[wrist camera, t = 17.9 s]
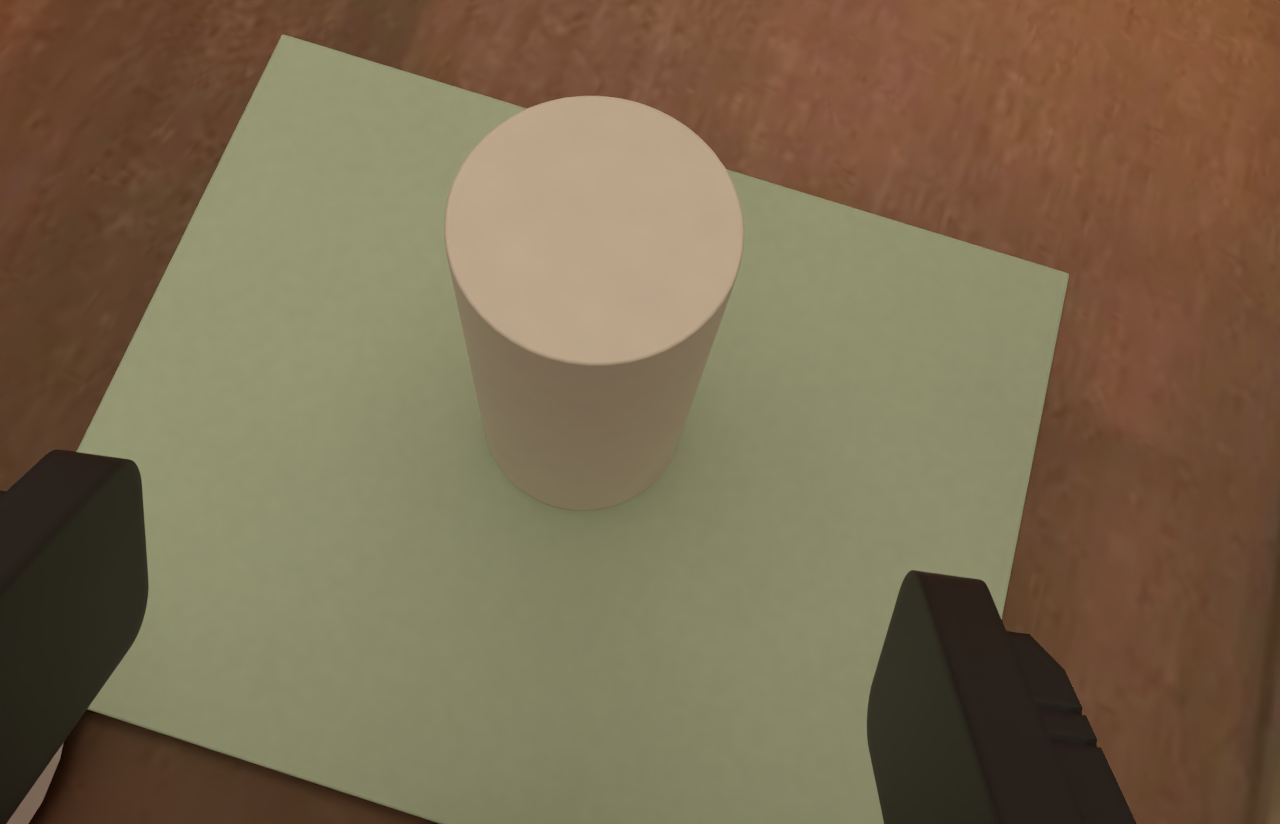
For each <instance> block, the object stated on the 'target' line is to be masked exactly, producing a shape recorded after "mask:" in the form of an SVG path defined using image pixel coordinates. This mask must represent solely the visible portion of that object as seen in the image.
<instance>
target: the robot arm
mask: <svg viewBox="0 0 1280 824" xmlns="http://www.w3.org/2000/svg"><path fill="white" fill-rule="evenodd" d="M148 589H149V585H148V567H147V552H146V538H145V523H144V508H143V493H142V481H141V475H140V471H139V469H138V466H137V465H136V463H135V462H134V461H132V460H129V459H123V458H116V457H109V456H101V455H94V454H87V453H80V452H73V451H65V450H53V451H51V452H49V453H48V454H47V455H45V456H44V457H43V458H42V459H41V460H40V461H39V462H38V463H37V464H36V465H35V466H34V467H33V468H31V469H30V470H29V471H28V472H27V473H26V474H25V475H24V476H23V477H22V478H21V479H20V480H19V481H17V482H16V483H15V484H14V485H13V486H12V487H11V488H10V489H9V490H8V491H7V492H6V491H0V824H7V822H8V821H9V819H10V818H11V817H12V815H13V814H14V812H15V811H16V809H17V808H18V807H19V805H20V804H21V802H22V801H23V800H24V798H25V797H26V795H27V794H28V792H29V791H30V790H31V788H32V787H33V785H34V784H35V782H36V781H37V780H38V778H39V777H40V775H41V774H42V773H43V771H44V770H45V768H46V767H47V765H48V764H49V763H50V761H51V760H52V758H53V757H54V755H55V754H56V753H57V751H58V750H59V748H60V747H61V746H62V744H63V743H64V741H65V740H66V738H67V737H68V736H69V734H70V733H71V731H72V730H73V728H74V727H75V726H76V724H77V723H78V721H79V720H80V719H81V717H82V716H83V714H84V713H85V711H86V710H87V709H88V707H89V706H90V704H91V703H92V701H93V700H94V699H95V697H96V696H97V694H98V693H99V692H100V690H101V689H102V687H103V686H104V684H105V683H106V682H107V680H108V679H109V677H110V676H111V674H112V673H113V672H114V670H115V669H116V667H117V666H118V665H119V663H120V662H121V660H122V659H123V657H124V656H125V655H126V653H127V652H128V650H129V649H130V647H131V646H132V644H133V643H134V641H135V639H136V637H137V635H138V633H139V630H140V628H141V625H142V622H143V619H144V615H145V611H146V606H147V600H148ZM867 740H868V747H869V752H870V757H871V762H872V767H873V772H874V777H875V782H876V786H877V791H878V796H879V801H880V806H881V811H882V816H883V820H884V824H1136V822H1135V820H1134V818H1133V815H1132V813H1131V811H1130V809H1129V807H1128V805H1127V803H1126V800H1125V798H1124V796H1123V794H1122V792H1121V790H1120V788H1119V785H1118V783H1117V781H1116V779H1115V777H1114V775H1113V773H1112V771H1111V768H1110V766H1109V764H1108V762H1107V760H1106V758H1105V756H1104V753H1103V751H1102V749H1101V748H1099V747H1097V746H1096V742H1097V738H1096V736H1095V734H1094V732H1093V730H1092V728H1091V726H1090V723H1089V721H1088V719H1087V717H1086V716H1085V715H1082V706H1081V704H1080V702H1079V700H1078V698H1077V696H1076V693H1075V691H1074V689H1073V687H1072V685H1071V683H1070V681H1069V678H1068V676H1067V674H1066V672H1065V670H1064V669H1063V668H1062V667H1061V666H1060V665H1059V664H1058V663H1057V662H1056V661H1055V660H1054V659H1053V658H1052V657H1051V656H1050V655H1049V654H1048V653H1047V652H1046V651H1045V650H1044V649H1043V648H1042V647H1041V646H1040V645H1039V644H1038V643H1037V642H1036V641H1035V640H1034V639H1033V638H1032V637H1031V636H1030V635H1029V634H1022V633H1015V632H1008V631H1006V630H1005V627H1004V625H1003V622H1002V620H1001V617H1000V615H999V613H998V610H997V608H996V605H995V603H994V601H993V598H992V596H991V593H990V591H989V589H988V587H987V585H986V583H985V582H984V581H982V580H980V579H973V578H966V577H959V576H952V575H944V574H937V573H930V572H923V571H916V570H911V571H909V572H908V573H907V575H906V576H905V578H904V580H903V582H902V584H901V587H900V590H899V593H898V597H897V600H896V604H895V607H894V610H893V614H892V617H891V620H890V624H889V627H888V631H887V634H886V637H885V641H884V644H883V648H882V651H881V654H880V658H879V661H878V664H877V668H876V671H875V675H874V678H873V681H872V685H871V689H870V694H869V701H868V710H867Z"/></svg>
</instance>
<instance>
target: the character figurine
mask: <svg viewBox="0 0 1280 824" xmlns="http://www.w3.org/2000/svg"><path fill="white" fill-rule="evenodd" d="M62 748H63V744H62V746H61V747H60V748H59V750H58V751H57V753H56V754H55V755H54V757H53V758H52V760H51V761H50V763H49V764H48V765H47V767H46V768H45V770H44V771H43V773H42V774H41V775H40V777H39V778H38V780H37V781H36V782H35V784H34V785H33V787H32V788H31V790H30V791H29V792H28V794H27V795H26V797H25V798H24V800H23V801H22V802H21V804H20V805H19V807H18V808H17V809H16V811H15V812H14V814H13V815H12V817H11V818H10V819H9V821H8V822H7V824H29V822H30V820H31V819H32V817H33V816H34V814H35V813H36V811H37V810H38V808H39V806H40V805H41V803H42V802H43V799H44V797H45V794H46V792H47V790H48V787H49V785H50V782H51V780H52V777H53V775H54V773H55V770H56V768H57V765H58V763H59V761H60V757H61V752H62Z"/></svg>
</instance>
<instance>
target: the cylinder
mask: <svg viewBox="0 0 1280 824" xmlns="http://www.w3.org/2000/svg"><path fill="white" fill-rule="evenodd" d="M444 238H445V247H446V254H447V258H448V263H449V268H450V272H451V277H452V282H453V286H454V291H455V296H456V301H457V305H458V310H459V315H460V319H461V324H462V329H463V333H464V338H465V343H466V347H467V352H468V357H469V361H470V366H471V371H472V376H473V380H474V385H475V390H476V394H477V399H478V404H479V408H480V413H481V418H482V422H483V427H484V432H485V436H486V439H487V443H488V446H489V449H490V451H491V453H492V456H493V458H494V459H495V461H496V463H497V464H498V466H499V468H500V469H501V470H502V472H503V473H504V474H505V475H506V477H507V478H508V479H509V480H510V481H511V482H512V483H513V484H515V485H516V486H517V487H518V488H519V489H521V490H522V491H523V492H525V493H526V494H527V495H529V496H531V497H533V498H535V499H537V500H538V501H541V502H543V503H546V504H548V505H551V506H554V507H559V508H563V509H569V510H578V511H579V510H597V509H604V508H608V507H611V506H615V505H618V504H620V503H623V502H625V501H628V500H630V499H631V498H633V497H635V496H637V495H638V494H640V493H641V492H643V491H644V490H645V489H647V488H648V487H649V486H650V485H651V484H652V483H653V482H654V481H655V480H656V479H657V478H658V477H659V476H660V475H661V474H662V472H663V471H664V470H665V468H666V467H667V466H668V464H669V462H670V460H671V458H672V456H673V455H674V452H675V449H676V447H677V444H678V441H679V439H680V436H681V433H682V430H683V427H684V424H685V422H686V419H687V416H688V413H689V410H690V407H691V405H692V402H693V399H694V396H695V393H696V390H697V388H698V385H699V382H700V379H701V376H702V373H703V371H704V368H705V365H706V362H707V359H708V357H709V354H710V351H711V348H712V345H713V342H714V340H715V337H716V334H717V331H718V328H719V325H720V323H721V320H722V317H723V314H724V311H725V308H726V306H727V303H728V300H729V297H730V294H731V291H732V289H733V286H734V283H735V280H736V277H737V274H738V272H739V268H740V264H741V259H742V255H743V246H744V222H743V214H742V210H741V205H740V200H739V198H738V195H737V192H736V189H735V187H734V184H733V182H732V180H731V178H730V176H729V174H728V172H727V171H726V169H725V167H724V166H723V164H722V163H721V161H720V160H719V159H718V157H717V156H716V154H715V153H714V152H713V151H712V150H711V148H710V147H709V146H708V145H707V144H706V143H705V142H704V141H703V140H702V139H701V138H700V137H699V136H698V135H696V134H695V133H694V132H693V131H692V130H690V129H689V128H688V127H687V126H685V125H683V124H682V123H680V122H679V121H677V120H676V119H674V118H673V117H671V116H669V115H667V114H665V113H663V112H661V111H659V110H657V109H654V108H652V107H649V106H646V105H644V104H641V103H638V102H633V101H629V100H625V99H621V98H613V97H605V96H577V97H567V98H561V99H557V100H552V101H548V102H544V103H542V104H539V105H536V106H533V107H530V108H528V109H526V110H524V111H521V112H519V113H517V114H515V115H513V116H512V117H510V118H508V119H507V120H505V121H504V122H502V123H501V124H499V125H498V126H496V127H495V128H494V129H493V130H492V131H491V132H489V133H488V134H487V135H486V136H485V137H484V138H483V139H482V140H481V141H480V142H479V143H478V144H477V145H476V146H475V147H474V149H473V150H472V151H471V152H470V154H469V155H468V156H467V158H466V159H465V161H464V162H463V164H462V165H461V167H460V169H459V171H458V173H457V175H456V177H455V179H454V181H453V184H452V187H451V190H450V193H449V196H448V199H447V204H446V210H445V216H444Z"/></svg>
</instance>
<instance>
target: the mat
mask: <svg viewBox="0 0 1280 824" xmlns="http://www.w3.org/2000/svg"><path fill="white" fill-rule="evenodd" d="M526 109H527V108H523V107H520V106H517V105H514V104H510V103H507V102H504V101H501V100H497V99H494V98H491V97H487V96H484V95H481V94H478V93H474V92H471V91H468V90H464V89H461V88H458V87H455V86H451V85H448V84H445V83H441V82H438V81H435V80H432V79H428V78H425V77H422V76H418V75H415V74H412V73H409V72H405V71H402V70H399V69H395V68H392V67H389V66H386V65H382V64H379V63H376V62H372V61H369V60H366V59H363V58H359V57H356V56H353V55H349V54H346V53H343V52H340V51H336V50H333V49H330V48H326V47H323V46H320V45H317V44H313V43H310V42H307V41H303V40H300V39H297V38H294V37H290V36H287V35H282V36H281V38H280V40H279V42H278V44H277V46H276V48H275V50H274V52H273V54H272V56H271V58H270V60H269V62H268V64H267V66H266V68H265V70H264V72H263V74H262V76H261V78H260V80H259V82H258V84H257V86H256V89H255V91H254V93H253V95H252V97H251V99H250V101H249V103H248V105H247V107H246V109H245V111H244V113H243V115H242V117H241V119H240V121H239V123H238V125H237V127H236V129H235V131H234V133H233V135H232V137H231V139H230V141H229V143H228V145H227V147H226V149H225V151H224V153H223V156H222V158H221V160H220V162H219V164H218V166H217V168H216V170H215V172H214V174H213V176H212V178H211V180H210V182H209V184H208V186H207V188H206V190H205V192H204V194H203V196H202V198H201V200H200V202H199V204H198V206H197V208H196V210H195V212H194V214H193V216H192V218H191V221H190V223H189V225H188V227H187V229H186V231H185V233H184V235H183V237H182V239H181V241H180V243H179V245H178V247H177V249H176V251H175V253H174V255H173V257H172V259H171V261H170V263H169V265H168V267H167V269H166V271H165V273H164V275H163V277H162V279H161V281H160V283H159V285H158V288H157V290H156V292H155V294H154V296H153V298H152V300H151V302H150V304H149V306H148V308H147V310H146V312H145V314H144V316H143V318H142V320H141V322H140V324H139V326H138V328H137V330H136V332H135V334H134V336H133V338H132V340H131V342H130V344H129V346H128V348H127V350H126V352H125V355H124V357H123V359H122V361H121V363H120V365H119V367H118V369H117V371H116V373H115V375H114V377H113V379H112V381H111V383H110V385H109V387H108V389H107V391H106V393H105V395H104V397H103V399H102V401H101V403H100V405H99V407H98V409H97V411H96V413H95V415H94V417H93V419H92V422H91V424H90V426H89V428H88V430H87V432H86V434H85V436H84V438H83V440H82V442H81V444H80V446H79V448H78V450H77V452H80V453H87V454H94V455H101V456H109V457H116V458H123V459H129V460H132V461H134V462H135V463H136V465H137V466H138V469H139V471H140V475H141V481H142V493H143V508H144V523H145V538H146V552H147V567H148V585H149V589H148V600H147V606H146V611H145V615H144V619H143V622H142V625H141V628H140V630H139V633H138V635H137V637H136V639H135V641H134V643H133V644H132V646H131V647H130V649H129V650H128V652H127V653H126V655H125V656H124V657H123V659H122V660H121V662H120V663H119V665H118V666H117V667H116V669H115V670H114V672H113V673H112V674H111V676H110V677H109V679H108V680H107V682H106V683H105V684H104V686H103V687H102V689H101V690H100V692H99V693H98V694H97V696H96V697H95V699H94V700H93V701H92V703H91V704H90V706H89V707H88V709H87V710H90V711H93V712H97V713H100V714H103V715H106V716H109V717H112V718H115V719H118V720H121V721H124V722H127V723H130V724H134V725H137V726H140V727H143V728H146V729H149V730H152V731H155V732H158V733H161V734H164V735H167V736H171V737H174V738H177V739H180V740H183V741H186V742H189V743H192V744H195V745H198V746H201V747H204V748H208V749H211V750H214V751H217V752H220V753H223V754H226V755H229V756H232V757H235V758H238V759H241V760H245V761H248V762H251V763H254V764H257V765H260V766H263V767H266V768H269V769H272V770H275V771H278V772H282V773H285V774H288V775H291V776H294V777H297V778H300V779H303V780H306V781H309V782H312V783H315V784H319V785H322V786H325V787H328V788H331V789H334V790H337V791H340V792H343V793H346V794H349V795H353V796H356V797H359V798H362V799H365V800H368V801H371V802H374V803H377V804H380V805H383V806H386V807H390V808H393V809H396V810H399V811H402V812H405V813H408V814H411V815H414V816H417V817H420V818H423V819H427V820H430V821H433V822H436V823H439V824H884V820H883V816H882V811H881V806H880V801H879V796H878V791H877V786H876V782H875V777H874V772H873V767H872V762H871V757H870V752H869V747H868V740H867V710H868V701H869V694H870V689H871V685H872V681H873V678H874V675H875V671H876V668H877V664H878V661H879V658H880V654H881V651H882V648H883V644H884V641H885V637H886V634H887V631H888V627H889V624H890V620H891V617H892V614H893V610H894V607H895V604H896V600H897V597H898V593H899V590H900V587H901V584H902V582H903V580H904V578H905V576H906V575H907V573H908V572H909V571H911V570H916V571H923V572H930V573H937V574H944V575H952V576H959V577H966V578H973V579H980V580H982V581H984V582H985V583H986V585H987V587H988V589H989V591H990V593H991V596H992V598H993V601H994V603H995V605H996V608H997V610H998V613H999V615H1000V617H1001V620H1002V615H1003V610H1004V605H1005V600H1006V595H1007V590H1008V585H1009V579H1010V574H1011V569H1012V564H1013V559H1014V554H1015V549H1016V544H1017V539H1018V534H1019V528H1020V523H1021V518H1022V513H1023V508H1024V503H1025V498H1026V493H1027V488H1028V483H1029V477H1030V472H1031V467H1032V462H1033V457H1034V452H1035V447H1036V442H1037V437H1038V431H1039V426H1040V421H1041V416H1042V411H1043V406H1044V401H1045V396H1046V391H1047V386H1048V380H1049V375H1050V370H1051V365H1052V360H1053V355H1054V350H1055V345H1056V340H1057V335H1058V329H1059V324H1060V319H1061V314H1062V309H1063V304H1064V299H1065V294H1066V289H1067V284H1068V278H1069V274H1068V273H1065V272H1062V271H1059V270H1056V269H1052V268H1049V267H1046V266H1042V265H1039V264H1036V263H1033V262H1029V261H1026V260H1023V259H1019V258H1016V257H1013V256H1010V255H1006V254H1003V253H1000V252H997V251H993V250H990V249H987V248H983V247H980V246H977V245H974V244H970V243H967V242H964V241H960V240H957V239H954V238H951V237H947V236H944V235H941V234H937V233H934V232H931V231H928V230H924V229H921V228H918V227H914V226H911V225H908V224H905V223H901V222H898V221H895V220H891V219H888V218H885V217H882V216H878V215H875V214H872V213H868V212H865V211H862V210H859V209H855V208H852V207H849V206H845V205H842V204H839V203H836V202H832V201H829V200H826V199H822V198H819V197H816V196H813V195H809V194H806V193H803V192H799V191H796V190H793V189H790V188H786V187H783V186H780V185H776V184H773V183H770V182H767V181H763V180H760V179H757V178H753V177H750V176H747V175H744V174H740V173H737V172H734V171H730V170H727V169H726V171H727V172H728V174H729V176H730V178H731V180H732V182H733V184H734V187H735V189H736V192H737V195H738V198H739V200H740V205H741V210H742V214H743V222H744V246H743V255H742V259H741V264H740V268H739V272H738V274H737V277H736V280H735V283H734V286H733V289H732V291H731V294H730V297H729V300H728V303H727V306H726V308H725V311H724V314H723V317H722V320H721V323H720V325H719V328H718V331H717V334H716V337H715V340H714V342H713V345H712V348H711V351H710V354H709V357H708V359H707V362H706V365H705V368H704V371H703V373H702V376H701V379H700V382H699V385H698V388H697V390H696V393H695V396H694V399H693V402H692V405H691V407H690V410H689V413H688V416H687V419H686V422H685V424H684V427H683V430H682V433H681V436H680V439H679V441H678V444H677V447H676V449H675V452H674V455H673V456H672V458H671V460H670V462H669V464H668V466H667V467H666V468H665V470H664V471H663V472H662V474H661V475H660V476H659V477H658V478H657V479H656V480H655V481H654V482H653V483H652V484H651V485H650V486H649V487H648V488H647V489H645V490H644V491H643V492H641V493H640V494H638V495H637V496H635V497H633V498H631V499H630V500H628V501H625V502H623V503H620V504H618V505H615V506H611V507H608V508H604V509H597V510H579V511H578V510H569V509H563V508H559V507H554V506H551V505H548V504H546V503H543V502H541V501H538V500H537V499H535V498H533V497H531V496H529V495H527V494H526V493H525V492H523V491H522V490H521V489H519V488H518V487H517V486H516V485H515V484H513V483H512V482H511V481H510V480H509V479H508V478H507V477H506V475H505V474H504V473H503V472H502V470H501V469H500V468H499V466H498V464H497V463H496V461H495V459H494V458H493V456H492V453H491V451H490V449H489V446H488V443H487V439H486V436H485V432H484V427H483V422H482V418H481V413H480V408H479V404H478V399H477V394H476V390H475V385H474V380H473V376H472V371H471V366H470V361H469V357H468V352H467V347H466V343H465V338H464V333H463V329H462V324H461V319H460V315H459V310H458V305H457V301H456V296H455V291H454V286H453V282H452V277H451V272H450V268H449V263H448V258H447V254H446V247H445V238H444V216H445V210H446V204H447V199H448V196H449V193H450V190H451V187H452V184H453V181H454V179H455V177H456V175H457V173H458V171H459V169H460V167H461V165H462V164H463V162H464V161H465V159H466V158H467V156H468V155H469V154H470V152H471V151H472V150H473V149H474V147H475V146H476V145H477V144H478V143H479V142H480V141H481V140H482V139H483V138H484V137H485V136H486V135H487V134H488V133H489V132H491V131H492V130H493V129H494V128H495V127H496V126H498V125H499V124H501V123H502V122H504V121H505V120H507V119H508V118H510V117H512V116H513V115H515V114H517V113H519V112H521V111H524V110H526Z"/></svg>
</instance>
